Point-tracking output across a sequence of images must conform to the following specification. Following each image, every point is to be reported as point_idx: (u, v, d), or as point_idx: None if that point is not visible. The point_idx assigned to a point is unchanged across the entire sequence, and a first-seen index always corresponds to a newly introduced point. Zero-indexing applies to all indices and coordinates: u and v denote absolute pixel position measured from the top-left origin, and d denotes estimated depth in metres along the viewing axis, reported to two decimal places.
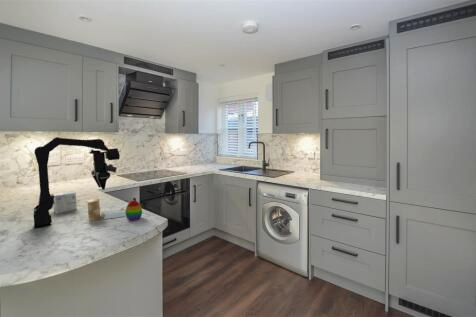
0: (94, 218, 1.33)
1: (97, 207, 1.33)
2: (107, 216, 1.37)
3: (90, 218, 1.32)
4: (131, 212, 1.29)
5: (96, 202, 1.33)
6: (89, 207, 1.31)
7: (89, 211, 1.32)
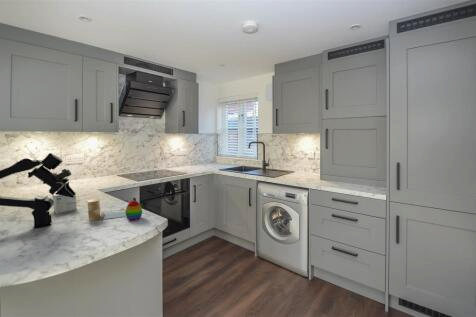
0: (94, 218, 1.33)
1: (97, 207, 1.33)
2: (107, 216, 1.37)
3: (90, 218, 1.32)
4: (131, 212, 1.29)
5: (96, 202, 1.33)
6: (89, 207, 1.31)
7: (89, 211, 1.32)
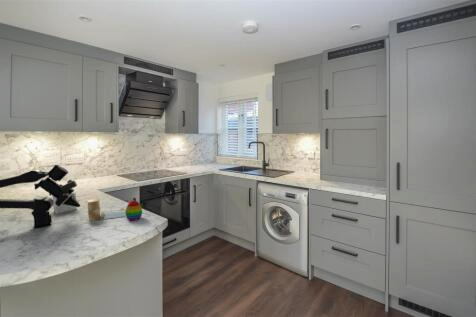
0: (94, 218, 1.33)
1: (97, 207, 1.33)
2: (107, 216, 1.37)
3: (90, 218, 1.32)
4: (131, 212, 1.29)
5: (96, 202, 1.33)
6: (89, 207, 1.31)
7: (89, 211, 1.32)
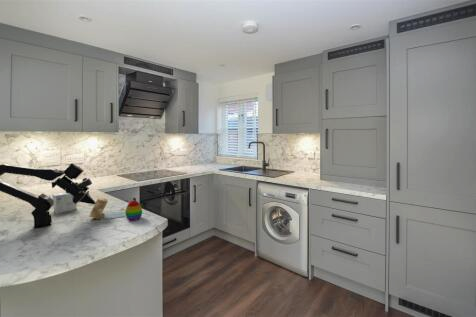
0: (95, 216, 1.33)
1: (103, 207, 1.34)
2: (107, 216, 1.37)
3: (91, 214, 1.32)
4: (131, 212, 1.29)
5: (105, 202, 1.35)
6: (96, 204, 1.33)
7: (94, 208, 1.33)
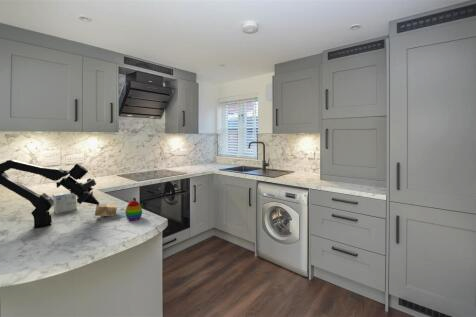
0: (97, 211, 1.33)
1: (108, 215, 1.36)
2: (107, 216, 1.37)
3: (98, 207, 1.33)
4: (131, 212, 1.29)
5: (114, 214, 1.37)
6: (110, 208, 1.36)
7: (106, 208, 1.35)
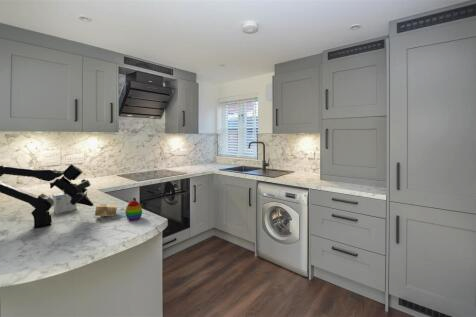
0: (97, 211, 1.33)
1: (108, 215, 1.36)
2: (107, 216, 1.37)
3: (98, 207, 1.33)
4: (131, 212, 1.29)
5: (114, 214, 1.37)
6: (110, 208, 1.36)
7: (106, 208, 1.35)
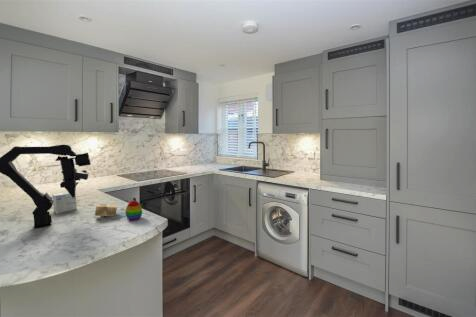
0: (97, 211, 1.33)
1: (108, 215, 1.36)
2: (107, 216, 1.37)
3: (98, 207, 1.33)
4: (131, 212, 1.29)
5: (114, 214, 1.37)
6: (110, 208, 1.36)
7: (106, 208, 1.35)
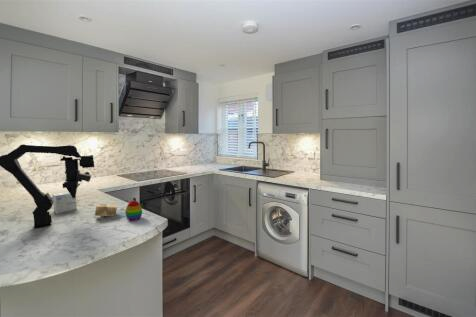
0: (97, 211, 1.33)
1: (108, 215, 1.36)
2: (107, 216, 1.37)
3: (98, 207, 1.33)
4: (131, 212, 1.29)
5: (114, 214, 1.37)
6: (110, 208, 1.36)
7: (106, 208, 1.35)
